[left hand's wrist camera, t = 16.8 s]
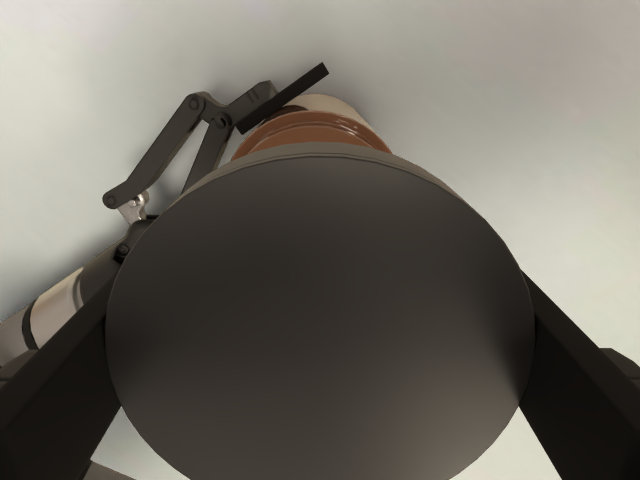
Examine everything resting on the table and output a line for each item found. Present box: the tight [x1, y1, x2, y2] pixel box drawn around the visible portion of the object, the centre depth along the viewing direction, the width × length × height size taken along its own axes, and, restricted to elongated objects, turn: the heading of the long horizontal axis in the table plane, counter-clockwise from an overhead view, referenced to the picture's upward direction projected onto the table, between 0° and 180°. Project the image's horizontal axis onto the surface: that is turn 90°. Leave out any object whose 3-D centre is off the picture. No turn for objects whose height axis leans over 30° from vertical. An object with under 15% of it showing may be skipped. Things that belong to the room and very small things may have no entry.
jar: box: [231, 94, 392, 161], centre depth 28 cm, size 10×10×15 cm
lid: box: [105, 142, 536, 480], centre depth 12 cm, size 11×11×2 cm
